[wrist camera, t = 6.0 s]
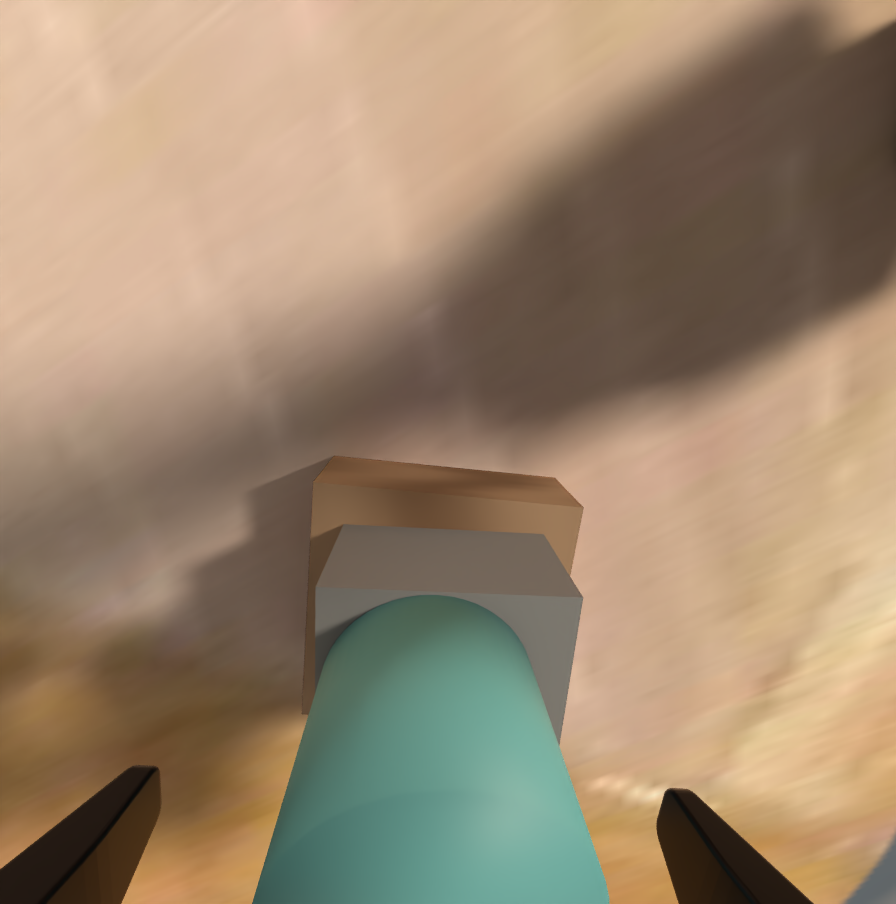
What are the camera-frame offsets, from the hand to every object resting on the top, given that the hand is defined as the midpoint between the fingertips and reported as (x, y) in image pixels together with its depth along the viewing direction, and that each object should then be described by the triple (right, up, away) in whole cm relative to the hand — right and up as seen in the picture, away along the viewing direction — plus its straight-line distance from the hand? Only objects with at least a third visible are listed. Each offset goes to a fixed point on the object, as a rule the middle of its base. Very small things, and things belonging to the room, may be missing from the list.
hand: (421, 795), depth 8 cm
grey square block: (0, +1, +6) cm, 6 cm away
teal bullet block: (0, 0, +3) cm, 3 cm away
